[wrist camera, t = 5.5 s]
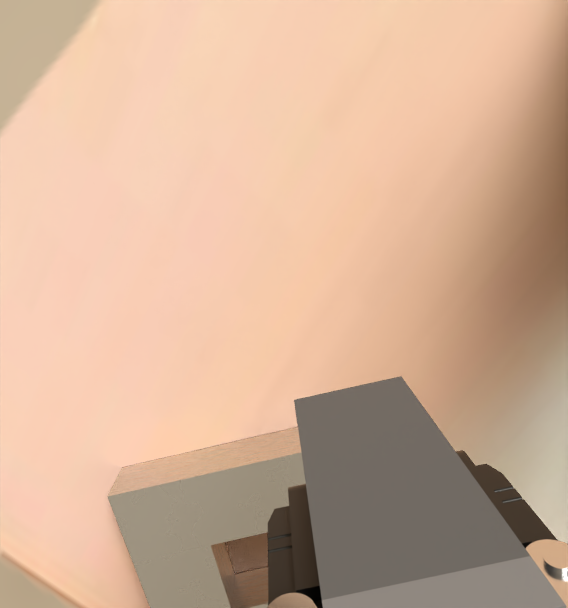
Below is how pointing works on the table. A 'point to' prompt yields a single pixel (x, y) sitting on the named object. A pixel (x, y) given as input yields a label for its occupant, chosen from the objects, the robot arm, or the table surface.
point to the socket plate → (204, 518)
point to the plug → (404, 510)
